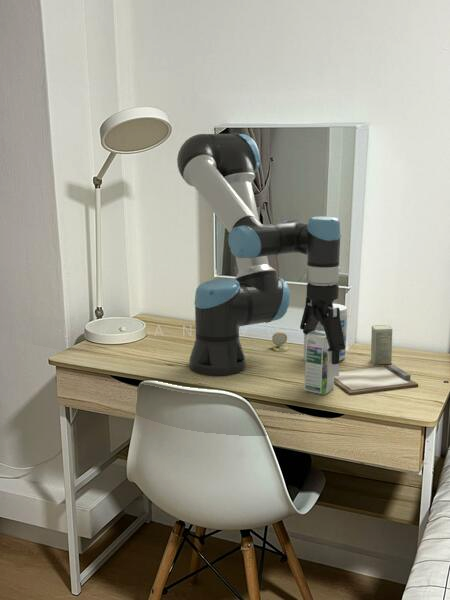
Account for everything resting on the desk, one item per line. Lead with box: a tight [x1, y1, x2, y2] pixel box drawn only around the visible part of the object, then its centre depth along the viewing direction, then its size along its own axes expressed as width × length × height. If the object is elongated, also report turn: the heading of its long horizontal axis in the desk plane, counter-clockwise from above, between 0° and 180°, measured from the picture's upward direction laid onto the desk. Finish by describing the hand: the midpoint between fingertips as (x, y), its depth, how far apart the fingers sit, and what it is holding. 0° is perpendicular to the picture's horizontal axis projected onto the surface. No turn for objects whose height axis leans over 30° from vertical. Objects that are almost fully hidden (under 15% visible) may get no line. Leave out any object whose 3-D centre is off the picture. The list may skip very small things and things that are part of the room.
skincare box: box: [370, 324, 393, 365], centre depth 192 cm, size 5×4×10 cm
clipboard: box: [334, 364, 419, 396], centre depth 179 cm, size 15×19×2 cm
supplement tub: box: [315, 303, 348, 362], centre depth 196 cm, size 10×10×15 cm
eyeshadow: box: [271, 331, 289, 353], centre depth 204 cm, size 4×5×5 cm
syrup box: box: [304, 330, 335, 396], centre depth 171 cm, size 6×6×14 cm
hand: (320, 367), depth 171 cm, fingers open, 13 cm apart
